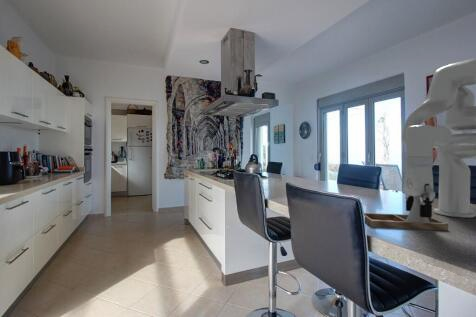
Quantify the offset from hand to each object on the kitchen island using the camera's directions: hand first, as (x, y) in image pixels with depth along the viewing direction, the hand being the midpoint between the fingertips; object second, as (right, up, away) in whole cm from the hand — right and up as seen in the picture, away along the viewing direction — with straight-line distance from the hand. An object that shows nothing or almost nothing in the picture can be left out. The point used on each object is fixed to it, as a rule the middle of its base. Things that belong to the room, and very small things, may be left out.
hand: (418, 213), depth 88 cm
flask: (0, -4, 0) cm, 4 cm away
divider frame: (-5, -4, +1) cm, 6 cm away
